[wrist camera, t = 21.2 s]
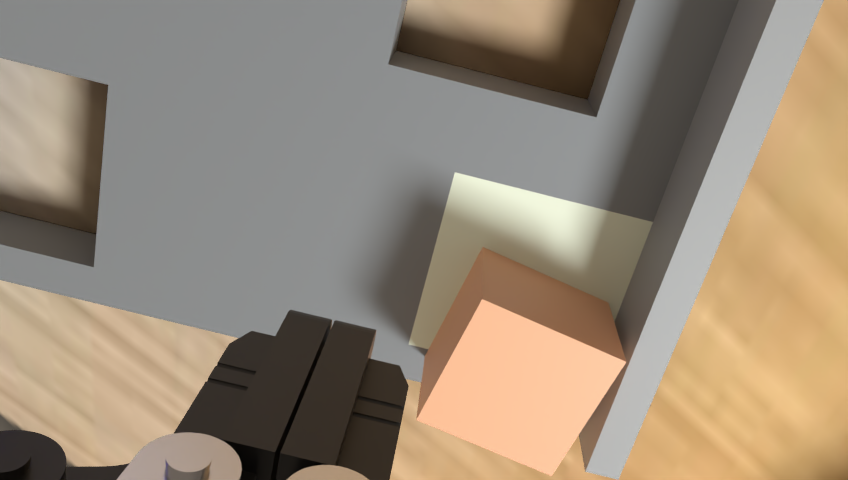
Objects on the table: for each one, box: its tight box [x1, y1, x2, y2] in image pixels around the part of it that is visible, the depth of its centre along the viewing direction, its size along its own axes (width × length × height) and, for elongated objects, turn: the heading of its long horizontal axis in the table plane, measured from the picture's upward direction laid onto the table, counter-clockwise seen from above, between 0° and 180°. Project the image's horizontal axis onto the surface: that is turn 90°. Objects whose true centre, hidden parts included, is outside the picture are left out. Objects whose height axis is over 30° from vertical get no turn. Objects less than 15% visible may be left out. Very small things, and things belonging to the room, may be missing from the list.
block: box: [416, 247, 626, 476], centre depth 28 cm, size 5×5×4 cm
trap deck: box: [0, 0, 824, 479], centre depth 26 cm, size 31×20×6 cm, turn 77°
